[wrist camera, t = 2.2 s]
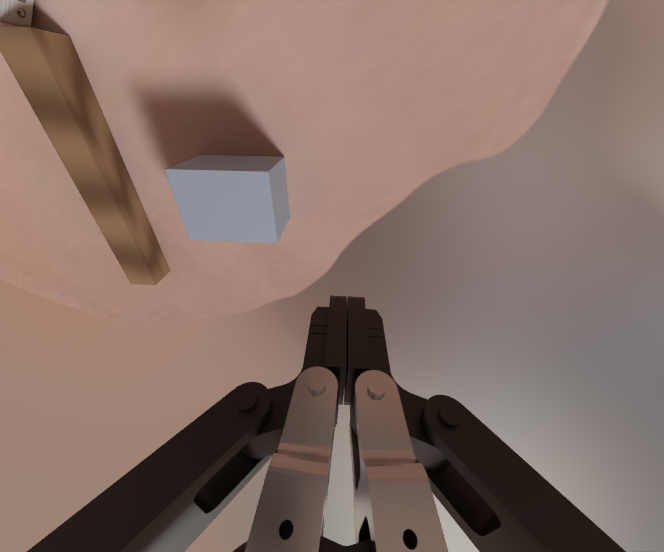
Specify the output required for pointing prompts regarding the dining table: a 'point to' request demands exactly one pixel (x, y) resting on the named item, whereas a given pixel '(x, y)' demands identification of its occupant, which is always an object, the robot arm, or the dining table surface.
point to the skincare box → (16, 12)
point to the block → (231, 197)
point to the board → (84, 144)
